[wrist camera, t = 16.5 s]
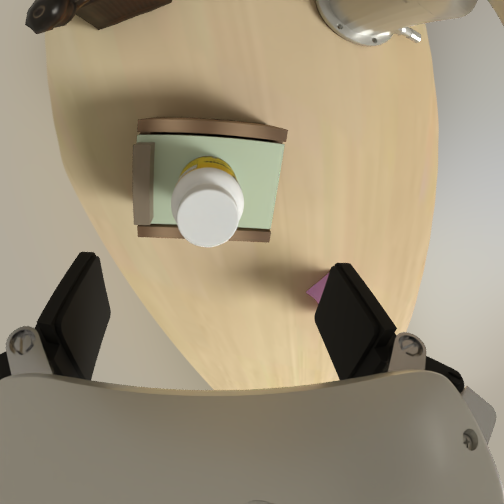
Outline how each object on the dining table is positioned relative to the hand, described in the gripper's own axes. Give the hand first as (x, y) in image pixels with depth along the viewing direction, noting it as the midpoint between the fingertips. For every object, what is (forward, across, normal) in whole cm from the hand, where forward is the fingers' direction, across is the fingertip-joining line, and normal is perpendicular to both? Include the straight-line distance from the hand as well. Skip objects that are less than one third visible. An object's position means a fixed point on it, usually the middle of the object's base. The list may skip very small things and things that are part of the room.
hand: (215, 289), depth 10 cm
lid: (+18, +1, +1) cm, 18 cm away
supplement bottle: (+17, 0, 0) cm, 17 cm away
